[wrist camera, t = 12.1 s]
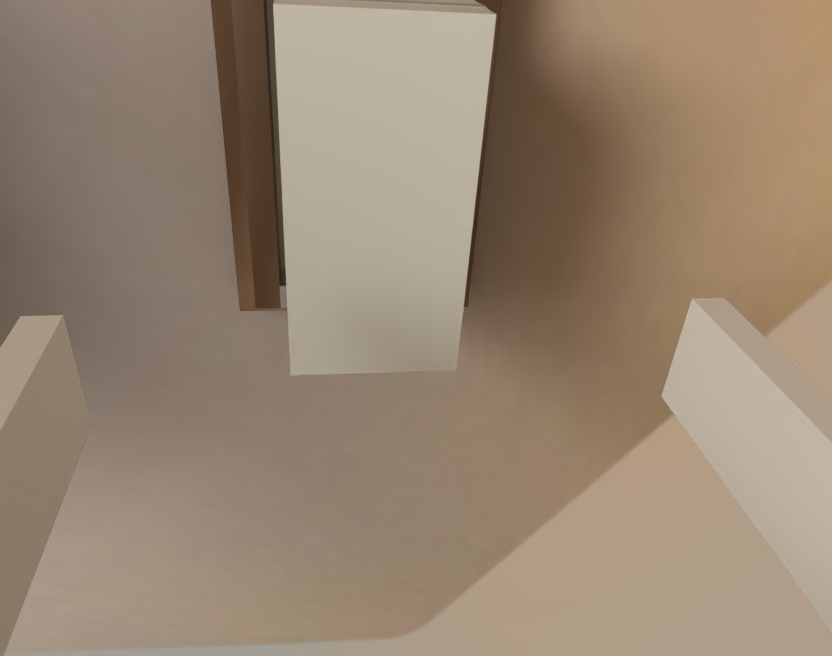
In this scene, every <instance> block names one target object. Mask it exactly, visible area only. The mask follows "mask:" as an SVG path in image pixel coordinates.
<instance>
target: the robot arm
mask: <svg viewBox="0 0 832 656" xmlns="http://www.w3.org/2000/svg"><path fill="white" fill-rule="evenodd" d="M661 397H662V398H663V399H664V401H665V402H666V404H667V405H668V406H669V408H670V409H671V410H672V412H673V413H674V415H675V416H676V417H677V419H678V420H679V422H680V423H681V424H682V426H683V427H684V428H685V430H686V431H687V433H688V434H689V435H690V437H691V438H692V440H693V441H694V442H695V444H696V445H697V446H698V448H699V449H700V451H701V452H702V453H703V455H704V456H705V458H706V459H707V460H708V462H709V463H710V464H711V466H712V467H713V469H714V470H715V471H716V473H717V474H718V476H719V477H720V478H721V480H722V481H723V483H724V484H725V485H726V487H727V488H728V489H729V491H730V492H731V494H732V495H733V496H734V498H735V499H736V501H737V502H738V503H739V505H740V506H741V508H742V509H743V510H744V512H745V513H746V514H747V515H748V517H749V519H750V520H751V521H752V523H753V524H754V526H755V527H756V528H757V530H758V531H759V532H760V534H761V535H762V537H763V538H764V539H765V541H766V542H767V544H768V545H769V546H770V548H771V549H772V550H773V552H774V553H775V555H776V556H777V557H778V559H779V560H780V562H781V563H782V564H783V566H784V567H785V569H786V570H787V571H788V573H789V574H790V575H791V577H792V578H793V580H794V581H795V582H796V584H797V585H798V587H799V588H800V589H801V591H802V592H803V593H804V595H805V596H806V598H807V599H808V600H809V602H810V603H811V604H812V606H813V607H814V609H815V610H816V612H817V613H818V614H819V616H820V617H821V618H822V620H823V621H824V623H825V624H826V625H827V627H828V628H829V630H830V631H831V632H832V401H831V400H830V399H829V398H828V397H827V396H826V395H825V394H824V393H823V392H822V391H821V390H820V389H819V388H818V387H817V386H816V385H815V384H814V383H813V382H811V381H810V380H809V379H808V378H807V377H806V376H805V375H804V374H803V373H802V372H801V371H800V370H799V369H798V368H797V367H796V366H795V365H794V364H793V363H792V362H791V361H790V360H788V359H787V358H786V357H785V356H784V355H783V354H782V353H781V352H780V351H779V350H778V349H777V348H776V347H775V346H774V345H773V344H771V342H770V341H769V340H767V339H766V338H765V337H764V336H763V335H762V334H761V333H760V332H759V331H758V330H757V329H756V328H755V327H754V326H753V325H752V324H751V323H750V322H749V321H748V320H747V319H745V318H744V317H743V316H742V315H741V314H740V313H739V312H738V311H737V310H736V309H735V308H734V307H733V306H732V305H731V304H730V303H729V302H728V301H727V300H726V299H725V298H694V299H692V301H691V304H690V307H689V310H688V313H687V317H686V320H685V323H684V326H683V329H682V332H681V336H680V339H679V342H678V345H677V348H676V351H675V355H674V358H673V361H672V364H671V367H670V370H669V374H668V377H667V380H666V383H665V386H664V389H663V393H662V396H661ZM90 427H91V421H90V417H89V413H88V409H87V405H86V401H85V397H84V394H83V390H82V386H81V382H80V378H79V374H78V370H77V366H76V362H75V359H74V355H73V351H72V347H71V343H70V339H69V335H68V331H67V327H66V324H65V320H64V316H63V315H47V316H20V318H19V319H18V321H17V323H16V324H15V326H14V327H13V329H12V330H11V332H10V333H9V335H8V336H7V338H6V340H5V341H4V343H3V344H2V346H1V347H0V656H4V653H5V650H6V648H7V645H8V642H9V640H10V637H11V635H12V632H13V629H14V627H15V624H16V621H17V619H18V616H19V614H20V611H21V608H22V606H23V603H24V600H25V598H26V595H27V593H28V590H29V587H30V585H31V582H32V579H33V577H34V574H35V572H36V569H37V566H38V564H39V561H40V559H41V556H42V553H43V551H44V548H45V545H46V543H47V540H48V538H49V535H50V532H51V530H52V527H53V524H54V522H55V519H56V517H57V514H58V511H59V509H60V506H61V503H62V501H63V498H64V496H65V493H66V490H67V488H68V485H69V482H70V480H71V477H72V475H73V472H74V469H75V467H76V464H77V462H78V459H79V456H80V454H81V451H82V448H83V446H84V443H85V441H86V438H87V435H88V433H89V430H90Z"/></svg>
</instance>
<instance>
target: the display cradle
mask: <svg viewBox="0 0 832 656" xmlns="http://www.w3.org/2000/svg"><path fill="white" fill-rule="evenodd" d="M475 1H477V2H478V3H480V4H483V5H485V6H486V7H487V9H489V10H490V11H492V12H494V13H495V14H496V23H495V32H494V41H493V50H492V59H491V67H490V76H489V85H488V94H487V103H486V112H485V121H484V130H483V139H482V148H481V157H480V166H479V175H478V183H477V192H476V201H475V210H474V219H473V228H472V237H471V246H470V255H469V264H468V273H467V282H466V291H465V299H464V307H467V306H468V297H469V288H470V280H471V271H472V262H473V253H474V244H475V235H476V226H477V217H478V208H479V199H480V190H481V181H482V173H483V164H484V155H485V146H486V137H487V128H488V119H489V110H490V101H491V92H492V83H493V74H494V66H495V57H496V48H497V39H498V30H499V21H500V12H501V3H502V0H475ZM273 2H274V0H211V6H212V17H213V27H214V38H215V49H216V59H217V70H218V81H219V91H220V102H221V113H222V123H223V134H224V145H225V155H226V166H227V177H228V187H229V198H230V209H231V219H232V230H233V241H234V251H235V262H236V273H237V283H238V294H239V305H240V311H258V310H287V290H286V269H285V248H284V227H283V205H282V184H281V163H280V142H279V121H278V100H277V78H276V57H275V36H274V15H273Z"/></svg>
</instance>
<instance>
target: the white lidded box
mask: <svg viewBox="0 0 832 656" xmlns="http://www.w3.org/2000/svg"><path fill="white" fill-rule="evenodd" d="M273 15H274V36H275V57H276V78H277V100H278V121H279V142H280V163H281V184H282V205H283V227H284V248H285V269H286V290H287V311H288V332H289V354H290V375H323V374H357V373H391V372H425V371H457V362H458V353H459V344H460V335H461V326H462V317H463V308H464V299H465V291H466V282H467V273H468V264H469V255H470V246H471V237H472V228H473V219H474V210H475V201H476V192H477V183H478V175H479V166H480V157H481V148H482V139H483V130H484V121H485V112H486V103H487V94H488V85H489V76H490V67H491V59H492V50H493V41H494V32H495V23H496V14H495V13H494V12H492V11H490V10H489V9H487V7H486V6H485V5H483V4H480V3H478V2H477V1H475V0H274V2H273Z"/></svg>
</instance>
